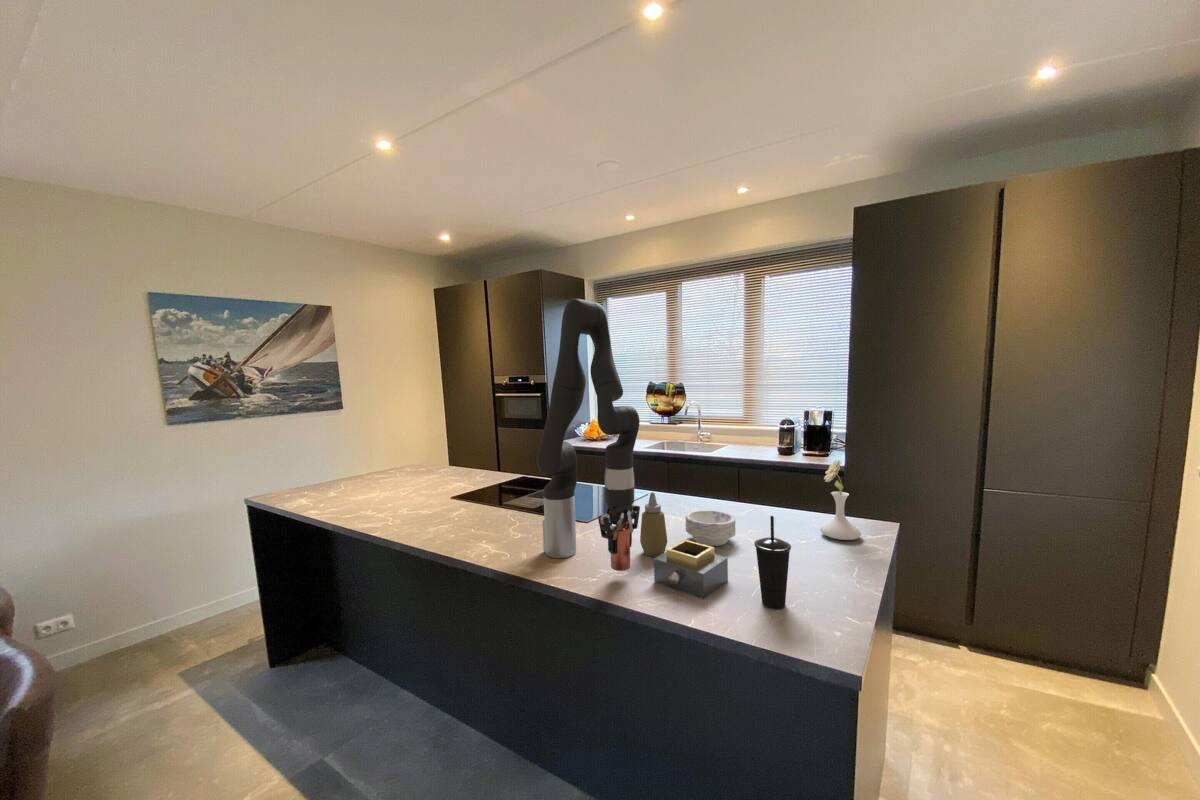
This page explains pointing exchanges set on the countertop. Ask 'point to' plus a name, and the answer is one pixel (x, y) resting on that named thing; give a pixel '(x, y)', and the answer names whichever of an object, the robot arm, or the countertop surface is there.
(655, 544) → the squeeze bottle
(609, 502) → the robot arm
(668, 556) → the grey drawer box
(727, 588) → the countertop surface
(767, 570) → the drinking cup
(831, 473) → the flower in vase
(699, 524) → the paper bowls
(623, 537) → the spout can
